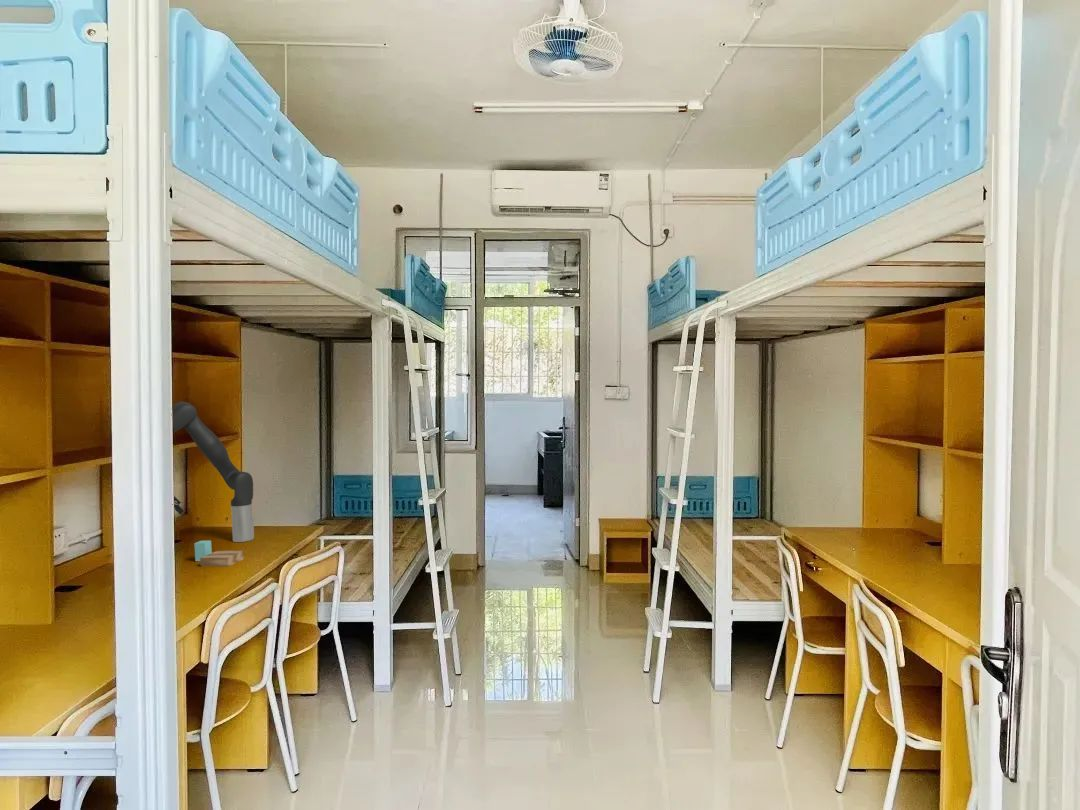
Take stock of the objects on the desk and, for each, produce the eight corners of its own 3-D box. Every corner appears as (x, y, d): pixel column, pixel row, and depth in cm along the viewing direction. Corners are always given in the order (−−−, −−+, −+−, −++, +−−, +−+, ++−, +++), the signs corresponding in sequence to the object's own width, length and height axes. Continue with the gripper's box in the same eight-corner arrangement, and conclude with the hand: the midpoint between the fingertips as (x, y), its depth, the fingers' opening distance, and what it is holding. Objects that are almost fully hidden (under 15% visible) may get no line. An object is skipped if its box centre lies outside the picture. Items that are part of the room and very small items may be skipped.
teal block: (202, 558, 287) (201, 540, 287) (212, 558, 287) (211, 540, 286) (195, 561, 283) (194, 543, 282) (205, 561, 282) (204, 543, 282)
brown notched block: (217, 559, 286) (217, 550, 286) (243, 559, 285) (243, 550, 285) (200, 567, 274) (200, 558, 274) (227, 567, 273) (227, 558, 273)
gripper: (144, 484, 279) (170, 511, 278) (166, 480, 293) (192, 505, 292) (132, 497, 279) (159, 524, 279) (155, 492, 294) (181, 517, 293)
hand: (176, 514), depth 285 cm, fingers open, 8 cm apart
